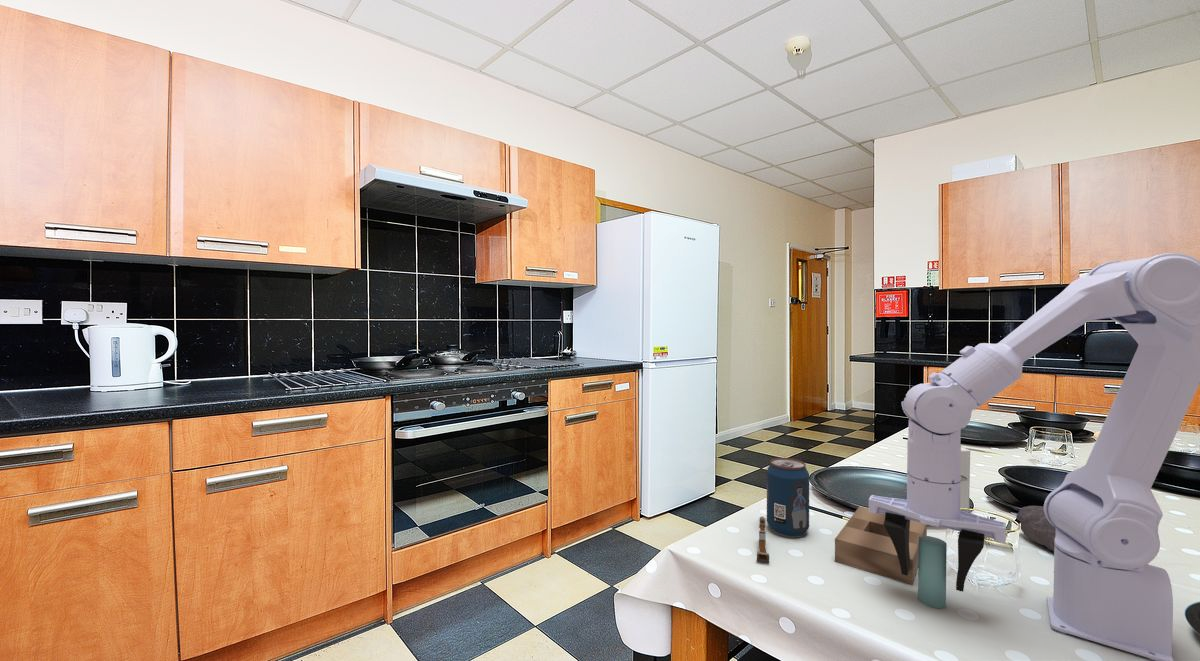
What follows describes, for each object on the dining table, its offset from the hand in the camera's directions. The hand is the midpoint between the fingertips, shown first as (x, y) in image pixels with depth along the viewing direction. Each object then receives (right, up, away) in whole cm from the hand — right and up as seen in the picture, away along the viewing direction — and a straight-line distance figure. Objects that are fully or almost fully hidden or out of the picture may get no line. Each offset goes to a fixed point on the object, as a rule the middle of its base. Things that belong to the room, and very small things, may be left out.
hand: (932, 579), depth 62 cm
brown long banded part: (-18, -3, +14) cm, 23 cm away
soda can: (-11, -3, +21) cm, 24 cm away
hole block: (+1, -3, +13) cm, 14 cm away
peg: (0, -3, 0) cm, 3 cm away
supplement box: (+22, -2, +30) cm, 37 cm away
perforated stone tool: (+29, -3, +12) cm, 32 cm away
